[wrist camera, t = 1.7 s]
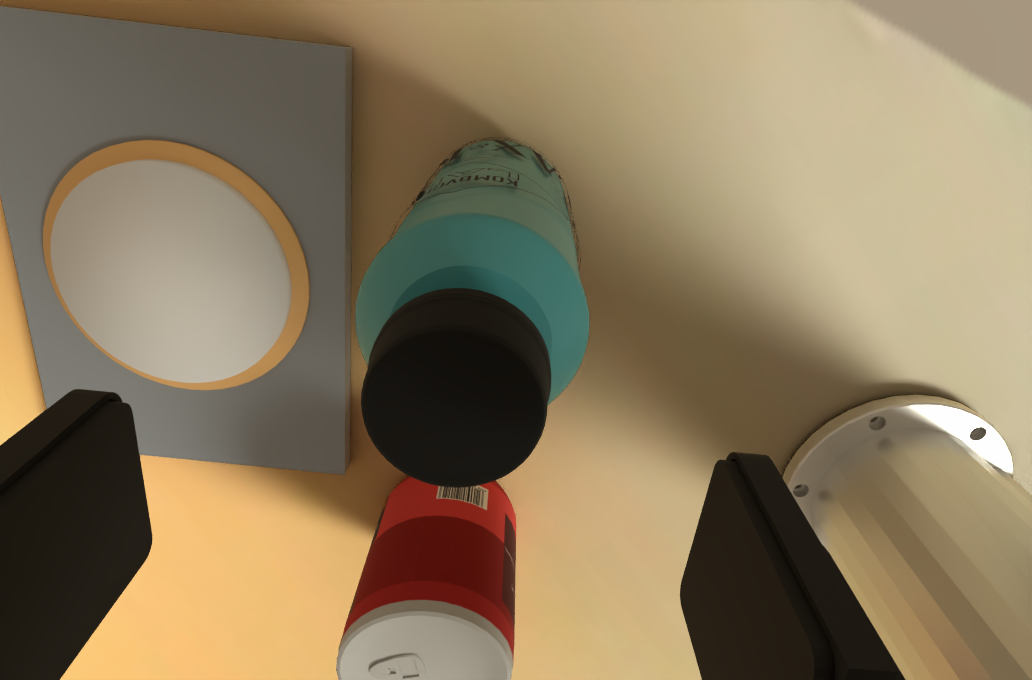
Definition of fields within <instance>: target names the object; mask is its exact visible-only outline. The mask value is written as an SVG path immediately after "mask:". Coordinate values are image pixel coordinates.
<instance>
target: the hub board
mask: <svg viewBox="0 0 1032 680" xmlns="http://www.w3.org/2000/svg"><path fill="white" fill-rule="evenodd" d="M351 178H352V47H345V46H336V45H328V44H320V43H311V42H303V41H295V40H286V39H278V38H269V37H261V36H253V35H244V34H236V33H228V32H219V31H211V30H202V29H194V28H186V27H177V26H169V25H161V24H152V23H144V22H135V21H127V20H119V19H110V18H102V17H94V16H85V15H77V14H68V13H60V12H52V11H43V10H35V9H27V8H18V7H10V6H1V5H0V196H1V200H2V205H3V210H4V214H5V219H6V223H7V228H8V233H9V237H10V242H11V246H12V251H13V256H14V260H15V265H16V269H17V274H18V279H19V283H20V288H21V293H22V297H23V302H24V306H25V311H26V316H27V320H28V325H29V329H30V334H31V339H32V343H33V348H34V352H35V357H36V362H37V366H38V371H39V375H40V380H41V385H42V389H43V394H44V398H45V403H46V408H47V409H48V408H49V407H50V406H52V405H53V404H54V403H56V402H57V401H58V400H59V399H61V398H62V397H63V396H65V395H66V394H67V393H68V392H70V391H72V390H74V389H85V390H95V391H106V392H115V393H116V394H118V395H119V396H120V397H121V399H122V402H123V403H127V404H129V405H130V406H131V408H132V412H133V417H134V424H135V430H136V436H137V443H138V449H139V455H149V456H159V457H169V458H179V459H189V460H199V461H210V462H220V463H230V464H240V465H250V466H260V467H270V468H280V469H290V470H300V471H310V472H321V473H331V474H341V475H345V473H346V471H347V468H348V466H349V464H350V369H351Z"/></svg>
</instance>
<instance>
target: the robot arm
mask: <svg viewBox="0 0 1032 680" xmlns="http://www.w3.org/2000/svg"><path fill="white" fill-rule="evenodd" d="M1013 476H1014V468H1013V462H1012V455H1011V453H1010V450H1009V448H1008V446H1007V444H1006V442H1005V439H1004V438H1003V437H1002V436H1001V435H1000V433H999V432H998V431H997V430H996V429H995V427H994V426H993V425H992V424H990V423H989V422H988V421H987V420H985V419H984V418H983V417H982V416H981V415H979V414H978V413H977V412H975V411H974V410H972V409H970V408H968V407H966V406H964V405H963V404H961V403H959V402H955V401H952V400H949V399H945V398H942V397H936V396H927V395H903V396H893V397H888V398H884V399H879V400H875V401H871V402H868V403H866V404H863V405H860V406H858V407H855V408H853V409H850V410H848V411H846V412H845V413H843V414H841V415H839V416H837V417H836V418H834V419H832V420H830V421H829V422H828V423H826V424H825V425H824V426H822V427H821V428H820V429H819V430H817V431H816V432H815V433H813V434H812V435H811V436H810V437H809V438H808V439H807V440H806V442H805V443H804V444H803V445H802V446H801V447H800V448H799V449H798V450H797V452H796V453H795V455H794V456H793V458H792V459H791V461H790V462H789V464H788V466H787V467H786V470H785V472H784V475H783V477H781V475H780V473H779V471H778V470H777V468H776V466H775V465H774V463H773V461H772V460H771V459H770V458H769V456H766V455H758V454H747V453H737V452H732V453H730V454H729V455H728V457H727V459H726V460H719V461H717V463H716V464H715V467H714V470H713V474H712V477H711V480H710V484H709V487H708V491H707V494H706V498H705V501H704V505H703V508H702V512H701V515H700V519H699V522H698V526H697V529H696V533H695V536H694V540H693V543H692V547H691V550H690V554H689V557H688V561H687V564H686V568H685V571H684V575H683V578H682V582H681V588H680V600H681V606H682V610H683V614H684V617H685V621H686V624H687V628H688V631H689V635H690V638H691V642H692V646H693V649H694V653H695V656H696V660H697V663H698V667H699V670H700V674H701V677H702V680H1032V495H1031V494H1030V493H1028V492H1027V491H1026V490H1025V489H1024V488H1023V487H1022V486H1021V485H1019V484H1018V483H1017V482H1016V481H1015V480H1014V479H1013ZM151 545H152V531H151V524H150V518H149V512H148V506H147V499H146V493H145V487H144V480H143V474H142V468H141V462H140V455H139V449H138V443H137V436H136V430H135V424H134V417H133V412H132V408H131V406H130V405H129V404H127V403H123V402H122V399H121V397H120V396H119V395H118V394H116V393H115V392H106V391H95V390H85V389H74V390H72V391H70V392H68V393H67V394H66V395H65V396H63V397H62V398H61V399H59V400H58V401H57V402H56V403H54V404H53V405H52V406H50V407H49V408H48V409H47V410H45V411H44V412H43V413H41V414H40V415H39V416H38V417H36V418H35V419H34V420H33V421H31V422H30V423H29V424H27V425H26V426H25V427H24V428H22V429H21V430H20V431H18V432H17V433H16V434H15V435H13V436H12V437H11V438H9V439H8V440H7V441H6V442H4V443H3V444H2V445H1V446H0V680H60V678H61V677H62V676H63V674H64V673H65V672H66V670H67V669H68V667H69V666H70V665H71V663H72V662H73V660H74V659H75V658H76V656H77V655H78V653H79V652H80V651H81V649H82V648H83V647H84V645H85V644H86V642H87V641H88V640H89V638H90V637H91V635H92V634H93V633H94V631H95V630H96V628H97V627H98V626H99V624H100V623H101V622H102V620H103V619H104V617H105V616H106V615H107V613H108V612H109V610H110V609H111V608H112V606H113V605H114V603H115V602H116V601H117V599H118V598H119V597H120V595H121V594H122V592H123V591H124V590H125V588H126V587H127V585H128V584H129V583H130V581H131V580H132V578H133V577H134V576H135V574H136V573H137V572H138V570H139V569H140V567H141V566H142V565H143V563H144V562H145V560H146V559H147V557H148V555H149V552H150V549H151Z"/></svg>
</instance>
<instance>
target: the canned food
mask: <svg viewBox="0 0 1032 680" xmlns="http://www.w3.org/2000/svg"><path fill="white" fill-rule="evenodd" d="M515 563H516V517H515V513H514V510H513V507H512V504H511V502H510V500H509V498H508V496H507V495H506V493H505V492H504V490H503V489H502V488H501V487H500V486H499V485H498V484H497V483H496V481H492V482H489V483H486V484H482V485H478V486H472V487H461V488H452V487H442V486H436V485H431V484H428V483H424V482H422V481H419V480H417V479H414V478H412V477H410V476H408V477H406V478H405V479H404V480H403V481H402V482H401V483H400V484H399V485H397V487H396V488H395V489H394V490H393V491H392V492H391V493H390V495H389V496H388V498H387V499H386V501H385V503H384V506H383V509H382V512H381V515H380V518H379V521H378V524H377V528H376V531H375V534H374V537H373V540H372V543H371V546H370V550H369V553H368V556H367V559H366V562H365V565H364V568H363V571H362V575H361V578H360V581H359V584H358V587H357V590H356V593H355V597H354V600H353V603H352V606H351V609H350V612H349V615H348V618H347V622H346V625H345V628H344V632H343V636H342V639H341V642H340V645H339V653H338V657H337V667H336V671H337V675H338V679H339V680H511V676H512V669H513V653H514V624H515Z"/></svg>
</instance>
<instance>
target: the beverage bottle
mask: <svg viewBox="0 0 1032 680" xmlns="http://www.w3.org/2000/svg"><path fill="white" fill-rule="evenodd" d="M490 138H494V137H490ZM499 138H502V137H499ZM483 139H484V138H483ZM494 139H495V138H494ZM497 139H498V138H497ZM509 139H510V138H509ZM486 140H487V139H486ZM504 140H508V139H504ZM514 140H515V139H514ZM474 141H475V140H474ZM511 141H513V140H511ZM517 141H518V140H517ZM475 142H476V141H475ZM515 142H516V141H515ZM520 142H521V141H520ZM471 143H473V142H472V141H471ZM523 143H524V142H523ZM523 143H521V144H523ZM468 144H469V143H468ZM466 145H467V143H466ZM524 145H525V144H524ZM462 146H463V145H462ZM464 146H465V144H464ZM526 146H527V145H526ZM526 146H523V145H520V144H517V143H514V142H509V141H501V140H489V141H484V142H479V143H476V144H473V145H470V146H468V147H466V148H464V149H462V148H461V149H459V150H457V151H455V153H454V154H453V153H452V154H453V156H452V157H450V158H449V159H446V160H445V159H444V161H443V162H442V163H441V164H440V165H442V164H444V163H445V162H446V161H447V160H448V161H447V163H446V164H445V165H444V166H443V167H442V169H440V170H439V173H438V174H437V176H436V177H435V179H434V180H433V181H432V183H431V184H430V185H429V186H428V185H427V183H428V182H427V183H426V185H427V187H428V188H427V187H426V186H424V187H426V188H427V190H426V189H425V188H424V189H425V191H422V192H421V191H420V193H419V194H418V197H417V199H416V198H415V199H416V201H417V200H419V201H418V202H417V203H416V205H415V204H414V203H415V202H416V201H415V202H414V201H413V202H412V204H414V205H415V206H414V205H413V206H414V208H413V209H412V210H411V212H410V213H409V215H408V216H407V217H406V219H405V220H404V221H403V223H402V224H401V226H400V227H399V229H398V231H397V233H396V235H395V236H394V237H393V238H392V239H390V241H389V242H387V244H386V245H385V246H384V247H383V248H382V249H381V250H380V252H379V253H378V254H377V256H376V257H375V258H374V260H373V261H372V263H371V264H370V266H369V268H368V270H367V272H366V274H365V275H364V277H363V280H362V283H361V286H360V288H359V292H358V297H357V301H356V311H355V324H356V333H357V338H358V343H359V347H360V349H361V352H362V355H363V357H364V359H365V361H366V363H367V365H368V370H367V373H366V376H365V379H364V382H363V387H362V392H361V407H362V414H363V419H364V423H365V427H366V429H367V432H368V434H369V436H370V438H371V440H372V442H373V443H374V445H375V446H376V448H377V449H378V450H379V452H380V453H381V454H382V455H383V456H384V457H385V458H386V460H387V461H389V462H390V463H391V464H392V465H393V466H395V467H396V468H397V469H399V470H400V471H402V472H403V473H405V474H407V475H409V476H410V477H412V478H414V479H417V480H419V481H422V482H424V483H428V484H431V485H436V486H442V487H452V488H461V487H472V486H478V485H482V484H486V483H489V482H492V481H495V480H497V479H499V478H502V477H504V476H506V475H507V474H509V473H510V472H512V471H513V470H515V469H516V468H517V467H518V466H520V465H521V464H522V463H523V462H524V461H525V460H526V459H527V458H528V457H529V455H530V454H531V453H532V451H533V450H534V448H535V447H536V445H537V443H538V441H539V439H540V437H541V435H542V432H543V429H544V426H545V421H546V416H547V405H548V404H550V403H551V402H552V401H553V400H554V399H555V398H557V397H558V396H559V395H560V394H561V392H562V391H563V390H564V389H565V388H566V387H567V386H568V384H569V383H570V381H571V380H572V379H573V377H574V376H575V374H576V372H577V370H578V368H579V366H580V365H581V362H582V359H583V357H584V354H585V351H586V347H587V342H588V337H589V310H588V305H587V300H586V295H585V292H584V289H583V286H582V283H581V281H580V276H579V270H578V265H577V259H578V258H577V253H576V247H575V242H574V239H575V236H574V238H573V233H572V232H573V230H572V228H571V224H572V223H570V218H569V213H568V210H569V209H568V207H567V206H568V205H567V204H566V200H567V199H565V198H566V197H565V194H564V190H563V187H562V184H561V182H560V180H559V178H560V179H561V177H560V176H561V175H559V178H558V176H557V174H556V173H555V171H556V170H555V169H556V168H554V167H553V166H555V165H553V164H552V165H553V166H552V167H553V168H552V167H551V166H550V165H549V164H548V162H547V161H546V160H545V159H543V158H542V157H541V155H540V154H541V153H540V154H538V153H537V152H535V151H534V150H532V149H534V148H532V149H530V148H531V147H530V146H528V147H530V148H528V147H526ZM535 149H536V148H535ZM538 151H539V150H538ZM542 154H543V153H542ZM449 155H450V154H449ZM440 165H439V166H440ZM437 170H438V169H437ZM437 170H435V171H437ZM556 172H557V171H556ZM558 173H559V172H558ZM433 174H434V173H433ZM434 175H436V173H435V174H434ZM434 175H433V176H434ZM433 176H431V177H433ZM431 177H430V178H429V179H432V178H431ZM562 180H563V179H562ZM428 181H429V180H428ZM430 181H431V180H430ZM430 181H429V182H430ZM564 185H565V183H564ZM422 190H423V189H422ZM566 190H567V188H566ZM567 194H568V191H567ZM568 198H569V195H568ZM413 200H414V199H413ZM567 201H568V200H567ZM569 202H570V199H569ZM569 202H568V204H569ZM569 205H570V206H571V204H569ZM407 208H408V207H407ZM410 208H411V207H410ZM570 208H571V207H570ZM571 209H572V208H571ZM571 209H570V210H571ZM407 210H408V209H407ZM407 210H406V211H407ZM570 214H571V213H570ZM570 216H571V215H570ZM401 217H402V216H401ZM573 218H574V217H573ZM573 218H572V219H573ZM572 222H573V220H572ZM397 224H398V223H397ZM396 226H397V225H396ZM572 226H574V228H575V225H574V224H573V225H572ZM395 228H396V227H395ZM393 233H394V232H393ZM392 235H393V234H392ZM576 235H577V233H576ZM389 236H390V235H389ZM577 240H578V238H577ZM578 243H579V241H578ZM576 246H577V242H576ZM577 248H578V247H577ZM577 250H578V249H577ZM578 255H579V253H578ZM580 261H581V259H580ZM579 268H580V267H579Z"/></svg>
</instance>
